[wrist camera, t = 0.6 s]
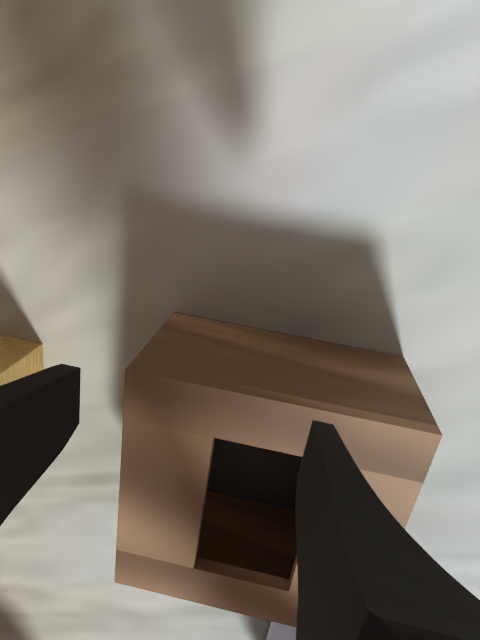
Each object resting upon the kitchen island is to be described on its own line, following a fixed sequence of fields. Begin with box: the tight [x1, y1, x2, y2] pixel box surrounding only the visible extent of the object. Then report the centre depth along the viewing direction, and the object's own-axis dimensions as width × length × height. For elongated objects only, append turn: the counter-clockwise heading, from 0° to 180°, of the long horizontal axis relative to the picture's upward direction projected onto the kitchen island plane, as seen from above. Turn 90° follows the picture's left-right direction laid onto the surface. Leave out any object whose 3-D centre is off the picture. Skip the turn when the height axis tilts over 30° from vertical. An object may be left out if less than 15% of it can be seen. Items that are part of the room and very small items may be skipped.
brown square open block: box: [115, 313, 442, 627], centre depth 21 cm, size 12×12×6 cm
